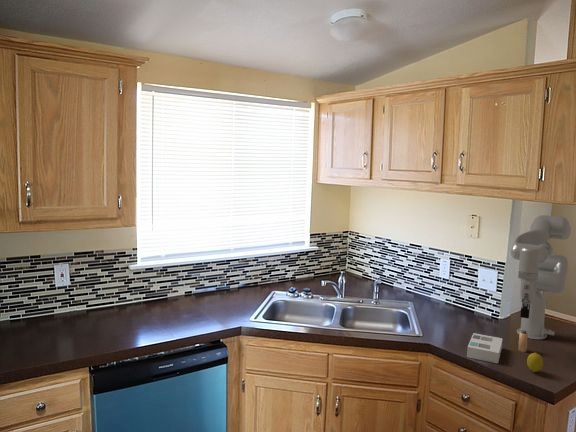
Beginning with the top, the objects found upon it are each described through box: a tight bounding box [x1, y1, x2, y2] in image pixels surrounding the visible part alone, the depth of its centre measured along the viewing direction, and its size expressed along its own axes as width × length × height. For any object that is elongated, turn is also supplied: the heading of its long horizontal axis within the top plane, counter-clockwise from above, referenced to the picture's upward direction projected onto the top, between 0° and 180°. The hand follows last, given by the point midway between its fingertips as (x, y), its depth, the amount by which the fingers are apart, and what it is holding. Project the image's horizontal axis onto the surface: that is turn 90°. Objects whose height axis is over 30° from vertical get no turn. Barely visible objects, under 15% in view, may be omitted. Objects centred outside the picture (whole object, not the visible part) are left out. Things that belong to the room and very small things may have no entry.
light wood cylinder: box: [517, 330, 529, 353], centre depth 198 cm, size 3×3×9 cm
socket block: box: [466, 332, 503, 364], centre depth 196 cm, size 12×18×5 cm, turn 151°
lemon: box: [526, 352, 544, 373], centre depth 178 cm, size 6×6×8 cm
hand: (525, 314), depth 197 cm, fingers open, 9 cm apart
